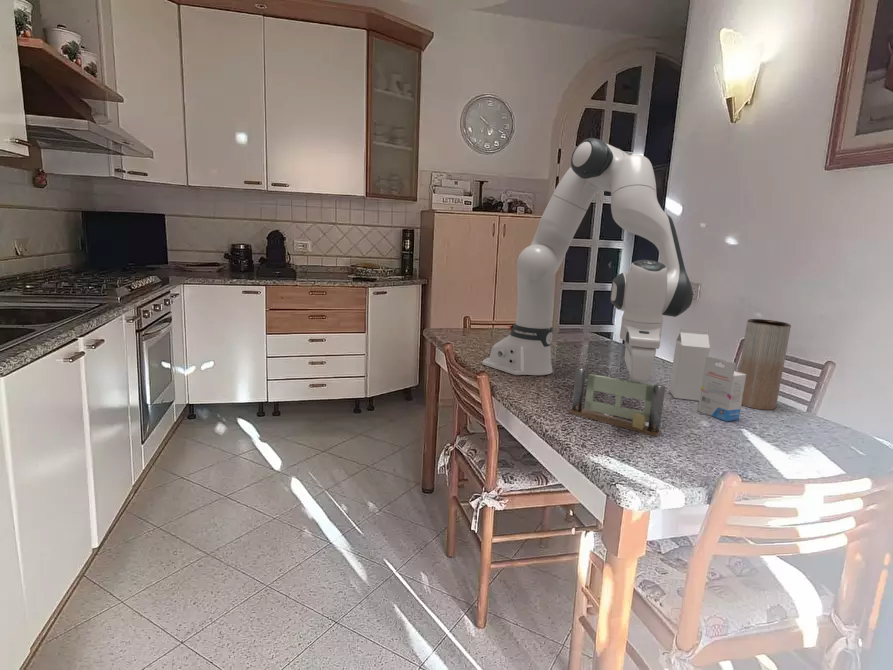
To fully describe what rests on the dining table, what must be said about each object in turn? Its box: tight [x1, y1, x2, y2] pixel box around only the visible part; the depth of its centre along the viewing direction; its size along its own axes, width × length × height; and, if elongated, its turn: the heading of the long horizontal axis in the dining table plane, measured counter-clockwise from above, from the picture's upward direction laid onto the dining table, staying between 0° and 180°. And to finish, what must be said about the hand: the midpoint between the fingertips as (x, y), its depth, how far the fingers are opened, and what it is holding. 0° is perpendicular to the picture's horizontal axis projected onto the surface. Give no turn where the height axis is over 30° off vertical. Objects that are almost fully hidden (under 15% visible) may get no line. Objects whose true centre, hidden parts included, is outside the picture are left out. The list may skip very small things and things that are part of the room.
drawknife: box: [568, 366, 666, 437], centre depth 125 cm, size 21×3×11 cm, turn 51°
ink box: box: [697, 355, 746, 422], centre depth 135 cm, size 8×5×15 cm, turn 26°
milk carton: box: [669, 327, 711, 402], centre depth 149 cm, size 7×7×19 cm
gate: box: [583, 373, 655, 424], centre depth 126 cm, size 15×1×8 cm, turn 60°
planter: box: [738, 318, 792, 411], centre depth 145 cm, size 10×10×23 cm
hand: (633, 390), depth 127 cm, fingers closed
